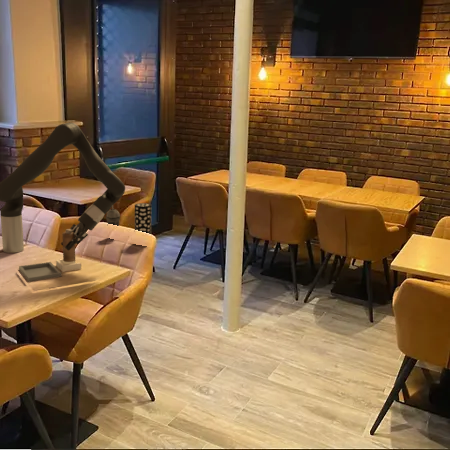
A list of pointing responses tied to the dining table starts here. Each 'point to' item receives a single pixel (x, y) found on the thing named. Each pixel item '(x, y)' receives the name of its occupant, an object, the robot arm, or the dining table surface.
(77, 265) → the caddy slot
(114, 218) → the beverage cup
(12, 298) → the dining table surface
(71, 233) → the pepper mill
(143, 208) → the spotted tube
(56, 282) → the dining table surface
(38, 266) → the serving tray
